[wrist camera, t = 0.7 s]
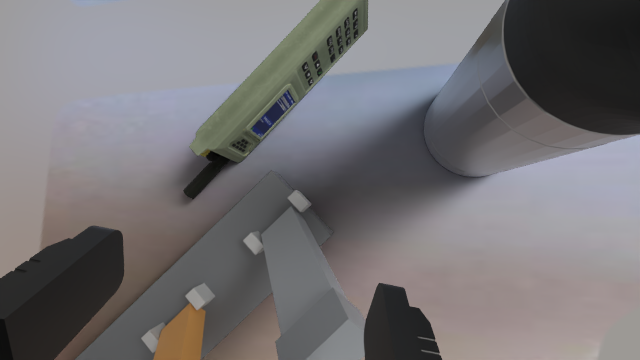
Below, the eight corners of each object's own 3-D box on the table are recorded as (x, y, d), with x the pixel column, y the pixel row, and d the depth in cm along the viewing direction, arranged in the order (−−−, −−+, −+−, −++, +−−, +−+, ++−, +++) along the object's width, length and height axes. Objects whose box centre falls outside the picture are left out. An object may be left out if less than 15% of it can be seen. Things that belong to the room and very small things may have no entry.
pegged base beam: (283, 170, 33) (270, 162, 28) (338, 228, 32) (335, 231, 27) (68, 375, 33) (19, 404, 28) (115, 441, 32) (72, 482, 27)
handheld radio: (373, 31, 34) (205, 208, 34) (349, 12, 34) (184, 186, 34) (375, -15, 27) (166, 205, 27) (346, -37, 28) (142, 177, 28)
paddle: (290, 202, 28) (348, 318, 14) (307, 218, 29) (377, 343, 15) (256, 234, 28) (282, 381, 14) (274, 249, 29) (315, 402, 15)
